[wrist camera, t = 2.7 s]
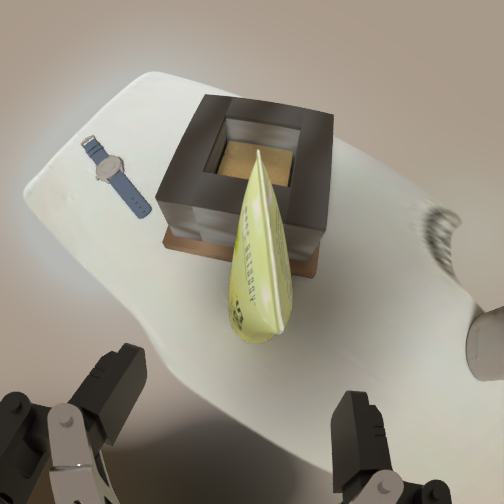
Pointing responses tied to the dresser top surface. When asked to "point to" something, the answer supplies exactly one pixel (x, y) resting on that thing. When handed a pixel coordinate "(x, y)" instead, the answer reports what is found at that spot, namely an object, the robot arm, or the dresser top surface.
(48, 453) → the robot arm
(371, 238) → the dresser top surface
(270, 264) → the tube
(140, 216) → the wristwatch
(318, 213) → the socket
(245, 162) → the tan sandy square tile
